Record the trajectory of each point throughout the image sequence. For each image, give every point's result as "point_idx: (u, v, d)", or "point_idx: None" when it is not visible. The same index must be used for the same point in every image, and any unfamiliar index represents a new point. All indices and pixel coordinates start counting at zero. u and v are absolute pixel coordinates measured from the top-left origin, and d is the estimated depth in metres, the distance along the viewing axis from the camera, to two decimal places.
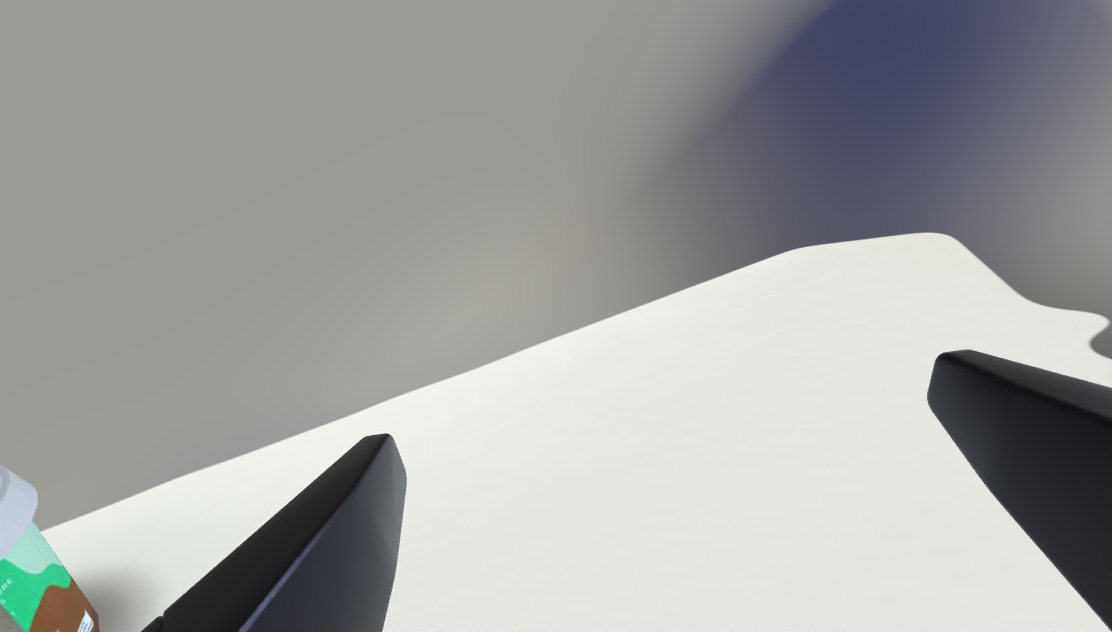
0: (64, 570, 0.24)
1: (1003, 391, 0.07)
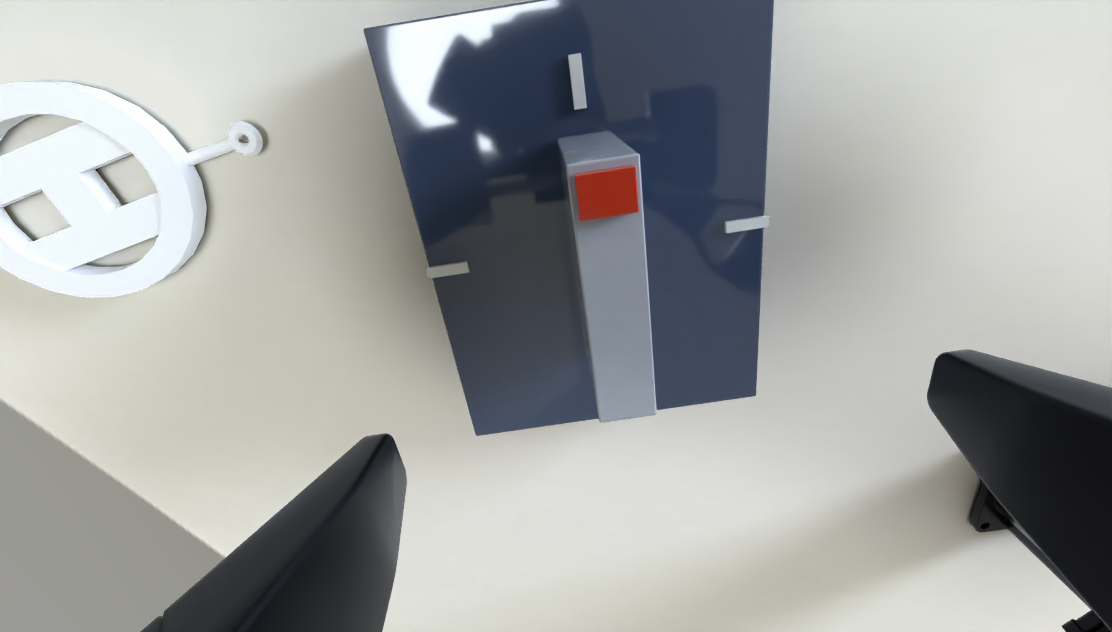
0: None
1: (1003, 391, 0.07)
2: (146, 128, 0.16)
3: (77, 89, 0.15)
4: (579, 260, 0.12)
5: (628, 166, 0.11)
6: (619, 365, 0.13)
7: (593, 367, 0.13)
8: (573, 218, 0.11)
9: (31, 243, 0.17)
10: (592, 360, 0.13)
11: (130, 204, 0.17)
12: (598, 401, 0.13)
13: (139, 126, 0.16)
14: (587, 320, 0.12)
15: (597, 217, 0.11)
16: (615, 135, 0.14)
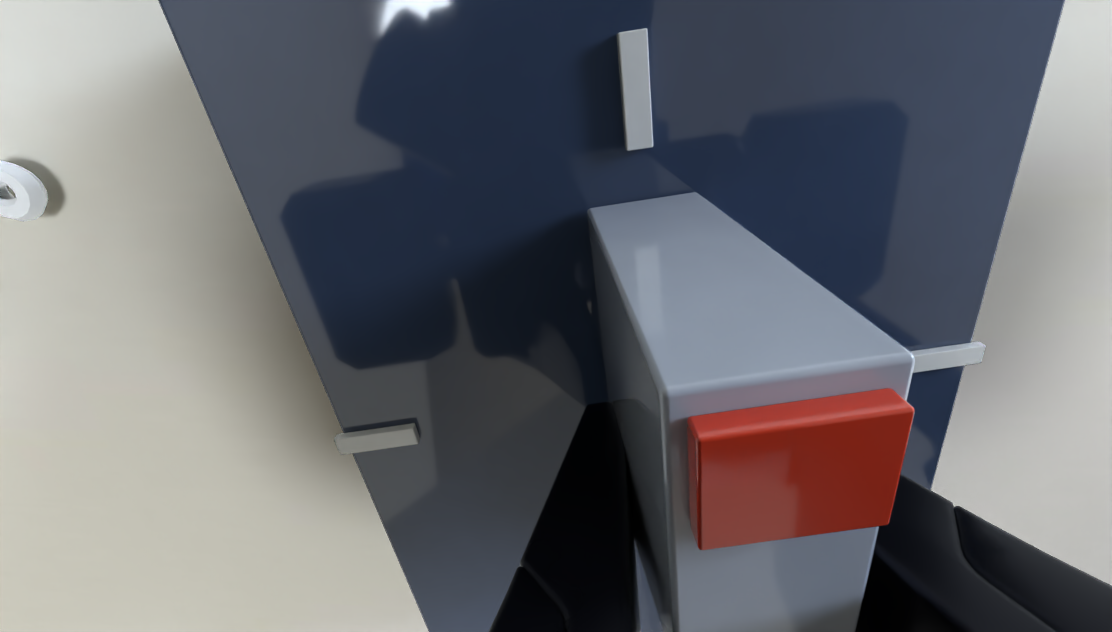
0: None
1: None
2: None
3: None
4: (676, 608, 0.04)
5: (876, 396, 0.03)
6: None
7: None
8: (669, 520, 0.04)
9: None
10: None
11: None
12: None
13: None
14: None
15: (754, 541, 0.03)
16: (725, 214, 0.06)
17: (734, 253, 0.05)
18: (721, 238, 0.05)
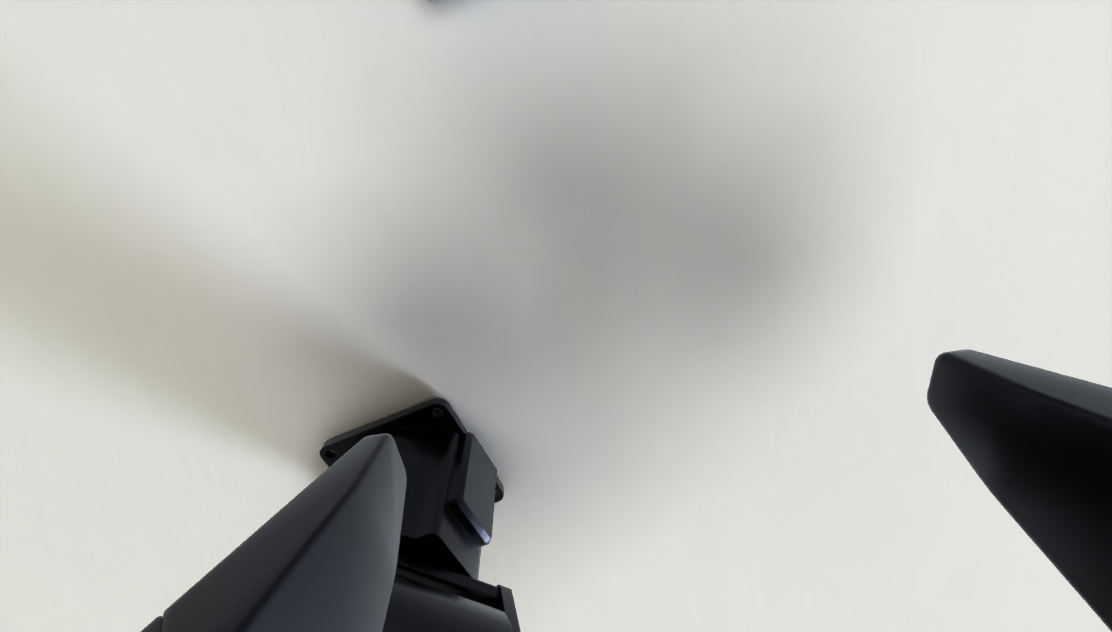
0: None
1: (1003, 391, 0.07)
2: None
3: None
4: None
5: None
6: None
7: None
8: None
9: None
10: None
11: None
12: None
13: None
14: None
15: None
16: None
17: None
18: None
